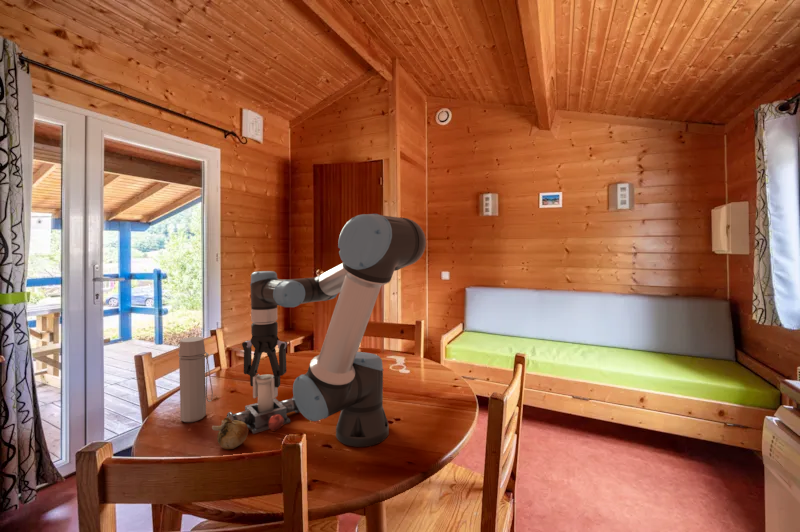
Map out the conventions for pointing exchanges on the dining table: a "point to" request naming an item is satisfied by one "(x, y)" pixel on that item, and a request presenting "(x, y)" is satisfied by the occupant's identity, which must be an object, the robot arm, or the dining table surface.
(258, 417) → the valve body
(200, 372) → the water bottle
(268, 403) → the pipe stub
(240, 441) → the onion
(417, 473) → the dining table surface
